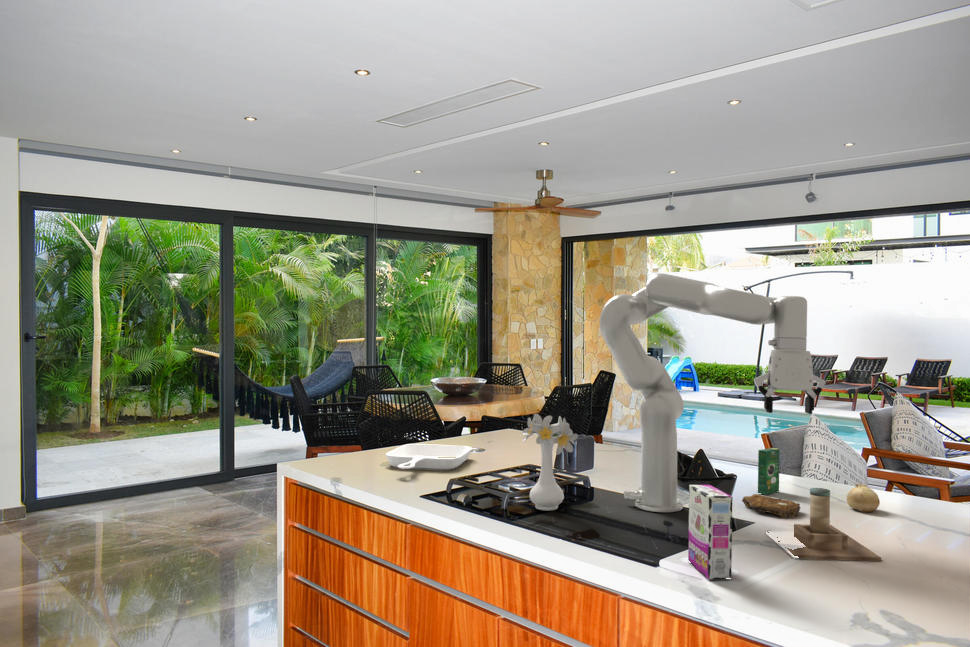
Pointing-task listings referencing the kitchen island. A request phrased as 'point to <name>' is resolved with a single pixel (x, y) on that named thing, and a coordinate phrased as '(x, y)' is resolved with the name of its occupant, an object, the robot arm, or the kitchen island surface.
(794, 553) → the socket block
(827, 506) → the peg
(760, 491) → the coffee box
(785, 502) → the decorative rock
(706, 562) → the candy bar box
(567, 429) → the flower vase
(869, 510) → the onion
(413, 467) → the pan
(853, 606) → the kitchen island surface
